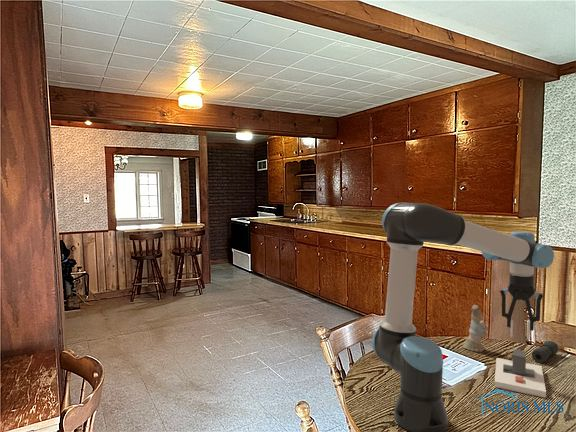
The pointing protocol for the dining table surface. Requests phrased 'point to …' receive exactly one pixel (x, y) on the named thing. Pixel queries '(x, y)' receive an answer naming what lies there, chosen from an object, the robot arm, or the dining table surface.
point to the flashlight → (545, 351)
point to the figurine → (476, 331)
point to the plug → (519, 362)
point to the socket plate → (520, 378)
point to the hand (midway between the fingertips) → (519, 337)
